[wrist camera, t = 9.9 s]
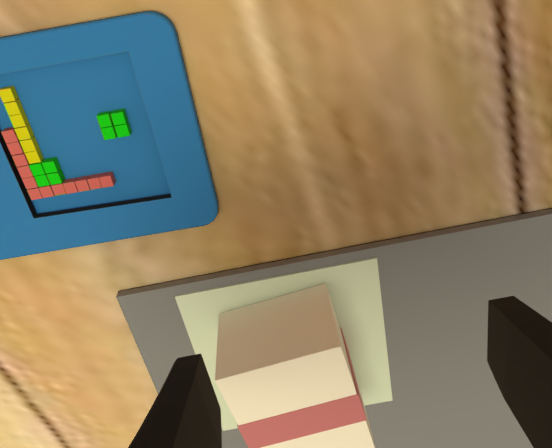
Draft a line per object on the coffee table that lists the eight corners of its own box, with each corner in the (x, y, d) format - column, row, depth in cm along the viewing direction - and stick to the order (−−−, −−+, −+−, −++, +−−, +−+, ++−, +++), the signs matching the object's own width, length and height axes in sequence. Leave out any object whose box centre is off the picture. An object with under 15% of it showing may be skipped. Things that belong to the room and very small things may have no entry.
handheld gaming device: (-275, 88, 17) (167, 9, 17) (-247, 80, 18) (171, 5, 18) (-137, 287, 21) (221, 226, 21) (-121, 271, 22) (222, 213, 22)
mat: (568, 205, 22) (575, 210, 22) (543, 444, 30) (547, 451, 29) (118, 291, 23) (115, 298, 22) (208, 502, 31) (207, 510, 30)
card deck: (361, 388, 26) (380, 459, 22) (265, 414, 27) (269, 487, 23) (326, 282, 23) (342, 346, 19) (217, 313, 23) (213, 381, 20)
